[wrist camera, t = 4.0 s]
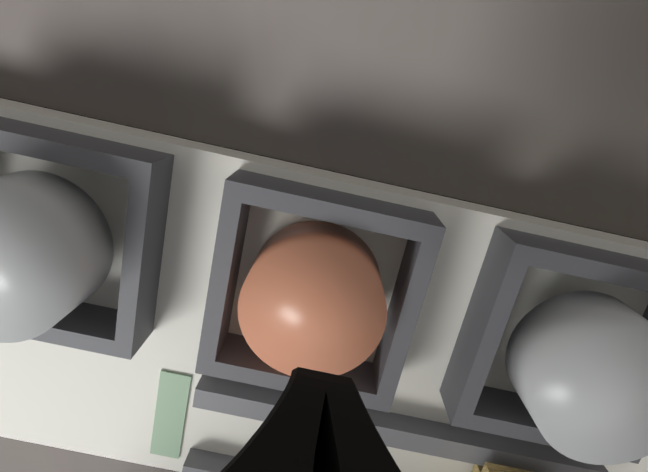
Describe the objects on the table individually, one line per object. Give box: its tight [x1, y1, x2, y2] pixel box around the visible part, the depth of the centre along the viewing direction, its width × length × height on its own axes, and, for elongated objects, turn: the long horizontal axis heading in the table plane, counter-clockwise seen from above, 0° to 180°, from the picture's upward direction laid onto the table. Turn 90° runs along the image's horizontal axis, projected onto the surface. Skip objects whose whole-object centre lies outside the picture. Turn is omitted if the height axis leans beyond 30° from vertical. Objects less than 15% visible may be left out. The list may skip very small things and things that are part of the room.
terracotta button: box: [238, 221, 387, 376], centre depth 16 cm, size 5×5×2 cm
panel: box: [0, 98, 648, 472], centre depth 18 cm, size 14×32×4 cm, turn 78°
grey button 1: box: [505, 291, 648, 465], centre depth 15 cm, size 5×5×2 cm
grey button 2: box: [0, 170, 114, 343], centre depth 14 cm, size 5×5×2 cm
